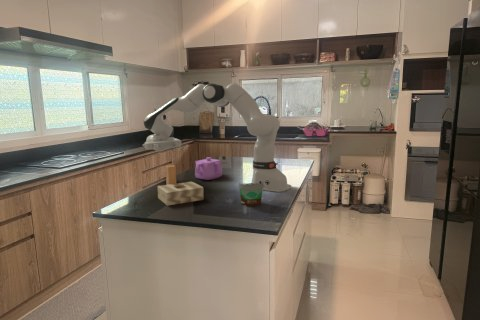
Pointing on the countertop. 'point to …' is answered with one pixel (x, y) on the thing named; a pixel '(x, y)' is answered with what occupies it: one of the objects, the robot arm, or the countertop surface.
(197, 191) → the socket
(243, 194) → the food container
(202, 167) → the teakettle
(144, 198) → the countertop surface
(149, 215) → the countertop surface
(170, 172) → the plug
